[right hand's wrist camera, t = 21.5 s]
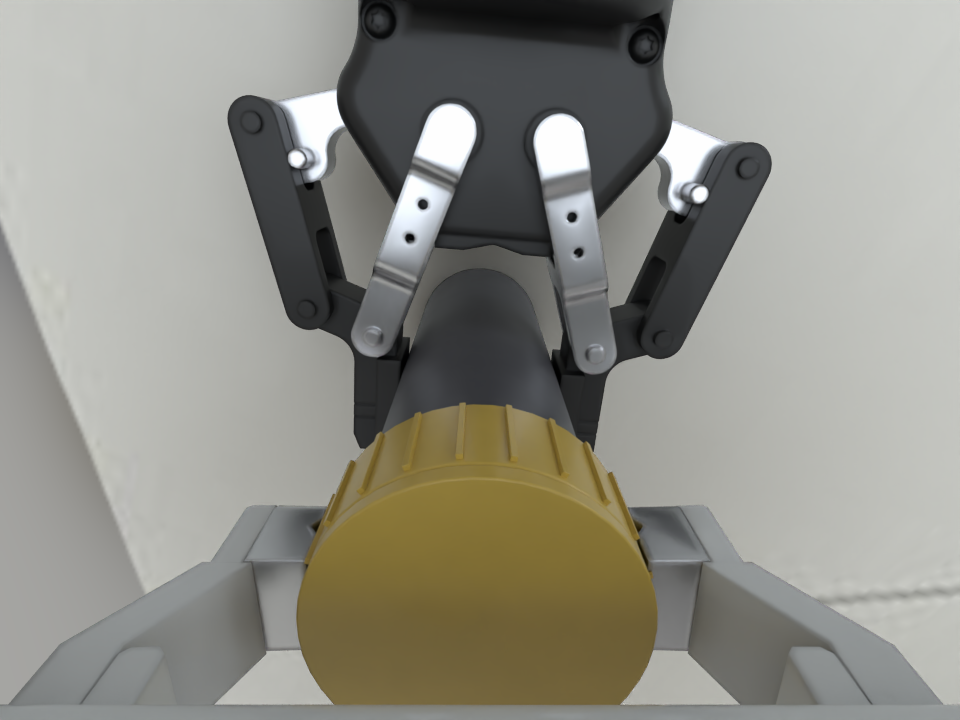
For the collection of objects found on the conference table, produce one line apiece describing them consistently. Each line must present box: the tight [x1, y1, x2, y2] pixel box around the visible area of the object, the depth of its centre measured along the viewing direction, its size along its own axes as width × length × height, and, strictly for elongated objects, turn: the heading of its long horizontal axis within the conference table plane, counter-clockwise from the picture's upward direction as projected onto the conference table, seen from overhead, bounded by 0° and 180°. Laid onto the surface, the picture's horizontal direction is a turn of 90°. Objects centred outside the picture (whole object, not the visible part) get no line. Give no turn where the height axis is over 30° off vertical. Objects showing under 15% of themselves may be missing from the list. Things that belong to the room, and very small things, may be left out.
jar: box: [382, 269, 576, 437], centre depth 16 cm, size 5×5×15 cm
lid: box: [296, 403, 658, 705], centre depth 10 cm, size 6×6×2 cm
